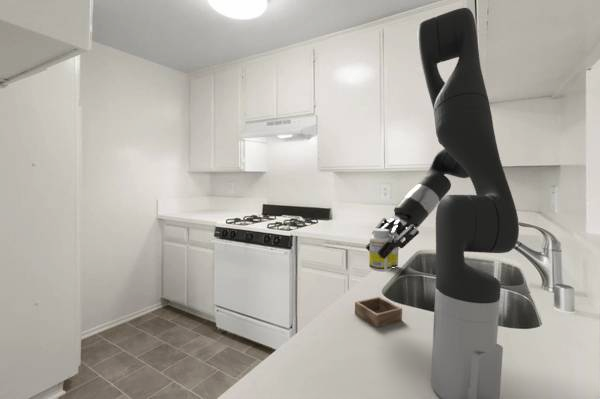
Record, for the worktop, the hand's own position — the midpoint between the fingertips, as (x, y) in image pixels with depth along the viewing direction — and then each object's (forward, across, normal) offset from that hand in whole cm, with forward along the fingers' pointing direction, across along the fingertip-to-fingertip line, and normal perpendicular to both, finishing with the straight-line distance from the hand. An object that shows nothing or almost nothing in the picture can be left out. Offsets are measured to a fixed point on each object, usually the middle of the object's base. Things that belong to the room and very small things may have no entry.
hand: (374, 253), depth 75 cm
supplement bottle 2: (-8, -39, +32) cm, 51 cm away
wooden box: (+11, 0, +13) cm, 17 cm away
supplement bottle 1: (+2, 0, +4) cm, 5 cm away
